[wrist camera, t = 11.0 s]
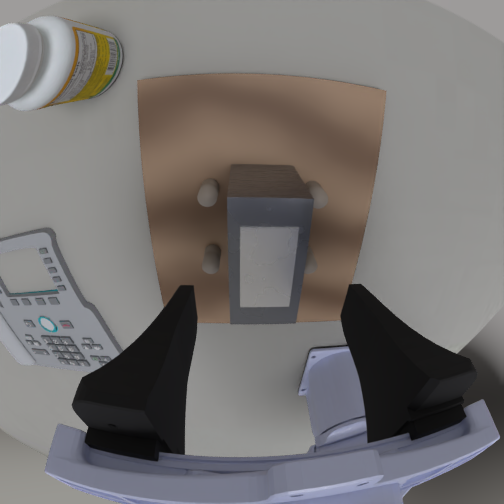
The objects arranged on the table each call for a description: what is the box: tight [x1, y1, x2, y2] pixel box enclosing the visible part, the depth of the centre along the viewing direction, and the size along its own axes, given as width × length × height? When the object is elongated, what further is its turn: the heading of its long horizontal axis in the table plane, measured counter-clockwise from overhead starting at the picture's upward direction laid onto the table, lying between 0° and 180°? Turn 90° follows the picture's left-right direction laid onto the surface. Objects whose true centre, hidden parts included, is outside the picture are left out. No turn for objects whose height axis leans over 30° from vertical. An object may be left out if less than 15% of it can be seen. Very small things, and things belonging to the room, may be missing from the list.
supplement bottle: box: [0, 16, 123, 111], centre depth 10 cm, size 5×5×10 cm
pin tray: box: [137, 74, 386, 323], centre depth 20 cm, size 20×16×3 cm
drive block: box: [227, 164, 314, 324], centre depth 18 cm, size 8×4×6 cm, turn 179°
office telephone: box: [0, 228, 123, 372], centre depth 26 cm, size 23×3×20 cm
